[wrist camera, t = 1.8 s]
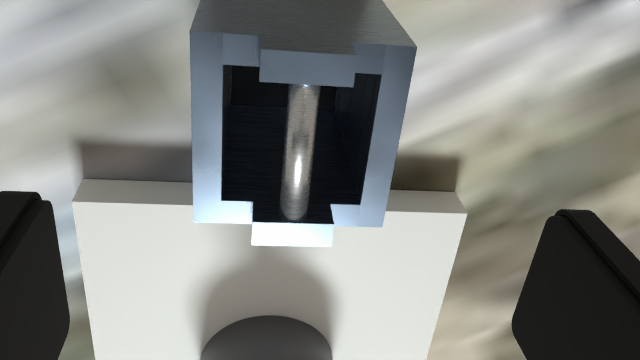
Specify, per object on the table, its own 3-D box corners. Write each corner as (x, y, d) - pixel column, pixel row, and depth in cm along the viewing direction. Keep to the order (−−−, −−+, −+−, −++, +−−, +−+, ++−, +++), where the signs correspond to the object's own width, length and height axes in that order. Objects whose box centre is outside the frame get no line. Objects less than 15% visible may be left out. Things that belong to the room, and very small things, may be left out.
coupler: (210, -28, 17) (184, 43, 11) (371, -14, 18) (427, 60, 12) (210, 122, 20) (189, 243, 14) (351, 129, 20) (389, 248, 14)
